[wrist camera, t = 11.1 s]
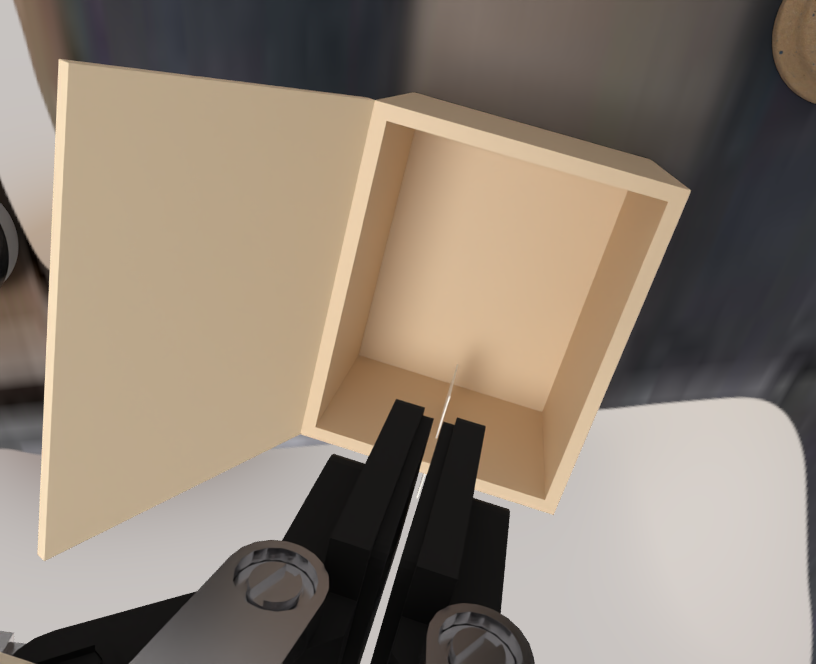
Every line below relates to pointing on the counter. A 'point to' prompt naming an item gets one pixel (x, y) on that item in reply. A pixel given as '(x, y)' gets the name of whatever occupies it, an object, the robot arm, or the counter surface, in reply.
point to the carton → (488, 287)
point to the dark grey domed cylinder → (7, 245)
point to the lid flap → (183, 281)
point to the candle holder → (796, 46)
